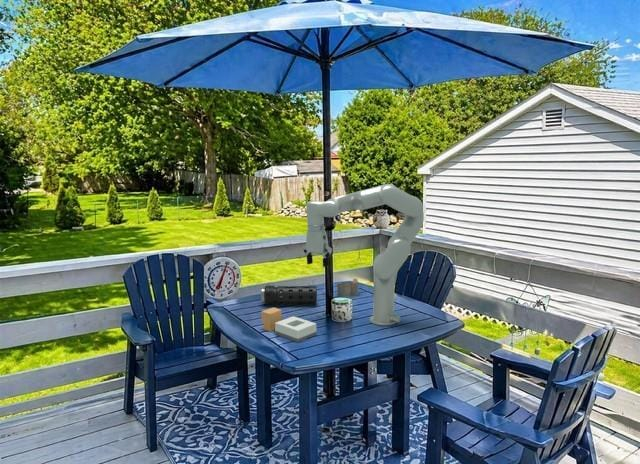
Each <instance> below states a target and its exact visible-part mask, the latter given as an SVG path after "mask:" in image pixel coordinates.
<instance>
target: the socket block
mask: <svg viewBox="0 0 640 464" xmlns="http://www.w3.org/2000/svg"><path fill="white" fill-rule="evenodd" d="M274 334H275V335H277V336H280V337H282V338H285V339H288V340H290V341H294V342H295V343H300V342H302V340H303V341H305V340H308V339H310V338H312V337H315V336H316V334H317V323H316V322H312V321H310V320H306V319H303V318H300V317H297V316H294V315H293V316H290V317H287V318H285V319H282V321H279V322H276V323H275V330H274ZM314 335H315V336H314ZM309 337H310V338H309ZM307 338H308V339H307Z"/></svg>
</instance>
